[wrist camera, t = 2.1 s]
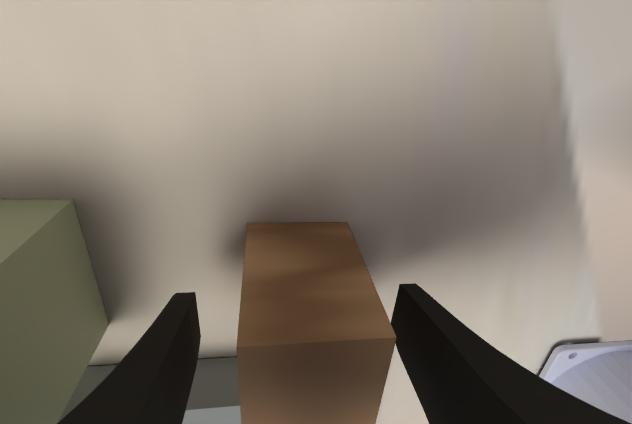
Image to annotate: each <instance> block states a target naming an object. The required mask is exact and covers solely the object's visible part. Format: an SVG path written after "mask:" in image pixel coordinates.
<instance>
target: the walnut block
mask: <svg viewBox="0 0 632 424" xmlns="http://www.w3.org/2000/svg"><path fill="white" fill-rule="evenodd" d="M396 338H397V337H396V335H395V333H394V330H393V328H392V326H391V323H390V321H389V319H388V316H387V314H386V312H385V309H384V307H383V305H382V302H381V300H380V298H379V295H378V293H377V291H376V289H375V286H374V284H373V282H372V279H371V277H370V275H369V272H368V270H367V268H366V265H365V263H364V261H363V258H362V256H361V254H360V251H359V249H358V247H357V244H356V242H355V240H354V238H353V235H352V233H351V231H350V228H349V226H348V224H347V222H294V223H247V231H246V243H245V255H244V267H243V279H242V290H241V302H240V314H239V326H238V338H237V361H238V379H239V396H240V414H241V424H375V423H376V419H377V415H378V411H379V407H380V403H381V398H382V394H383V390H384V386H385V382H386V378H387V374H388V370H389V366H390V362H391V358H392V354H393V350H394V346H395V342H396Z"/></svg>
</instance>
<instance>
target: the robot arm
mask: <svg viewBox="0 0 632 424" xmlns="http://www.w3.org/2000/svg"><path fill="white" fill-rule="evenodd" d="M391 326H392V328H393V330H394V333H395V335H396V337H397V338H396V342H395V343H396V346H397V349H398V352H399V355H400V357H401V359H402V362H403V364H404V366H405V369H406V371H407V373H408V375H409V378H410V380H411V382H412V384H413V387H414V389H415V391H416V394H417V396H418V398H419V400H420V403H421V405H422V407H423V409H424V412H425V414H426V417H427V419H428V422H429V424H632V340H628V341H614V342H600V343H586V344H571V345H561V346H558V347H556V348H555V349H554V350H553V352H552V354H551V355H550V357H549V359H548V361H547V362H546V364H545V366H544V368H543V370H542V371H541V373H540V375H539V376H537V375H535V374H534V373H532V372H530V371H529V370H527V369H526V368H524V367H522V366H521V365H519V364H518V363H516V362H515V361H513V360H512V359H510V358H509V357H507V356H506V355H504V354H503V353H501V352H500V351H498V350H497V349H495V348H494V347H493V346H491V345H490V344H489V343H487V342H486V341H485V340H483V339H482V338H481V337H479V336H478V335H477V334H475V333H474V332H473V331H471V330H470V329H469V328H468V327H466V326H465V325H464V324H463V323H462V322H460V321H459V320H458V319H457V318H455V317H454V316H453V315H452V314H451V313H450V312H448V311H447V310H446V309H445V308H444V307H443V306H441V305H440V304H439V303H438V302H437V301H436V300H434V299H433V298H432V297H431V296H430V295H429V294H428V293H426V292H425V291H424V290H423V289H422V288H420V287H419V286H418V285H417V284H400V286H399V290H398V294H397V298H396V303H395V307H394V311H393V316H392V320H391ZM200 337H201V335H200V327H199V319H198V311H197V303H196V295H195V292H191V293H176V294H175V295H173V297H172V298H171V299H170V301H169V302H168V304H167V305H166V306H165V308H164V309H163V310H162V312H161V313H160V315H159V316H158V317H157V318H156V320H155V321H154V322H153V324H152V325H151V326H150V328H149V329H148V330H147V331H146V332H145V334H144V335H143V336H142V337H141V339H140V340H139V341H138V342H137V344H136V345H135V346H134V347H133V348H132V349H131V350H130V352H129V353H128V354H127V355H126V356H125V357H124V358H123V359H122V361H121V362H120V363H119V364H118V365H117V366H116V367H115V368H114V369H113V371H112V372H111V373H110V374H109V375H108V376H107V377H106V378H105V379H104V380H103V381H102V382H101V383H100V384H99V385H98V386H97V387H96V388H95V389H94V390H93V391H92V392H91V393H90V394H89V395H88V396H87V397H86V398H85V399H84V400H83V401H81V402H80V403H79V404H78V405H77V406H76V407H75V408H74V409H73V410H72V411H70V412H69V413H68V414H67V415H66V416H65V417H64V418H63V419H62V420H60V421H59V422H58V423H57V424H182V423H183V419H184V415H185V411H186V407H187V403H188V399H189V395H190V391H191V387H192V383H193V379H194V375H195V371H196V367H197V360H198V353H199V345H200Z"/></svg>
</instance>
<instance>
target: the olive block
mask: <svg viewBox="0 0 632 424" xmlns="http://www.w3.org/2000/svg"><path fill="white" fill-rule="evenodd" d="M108 325H109V323H108V320H107V316H106V313H105V309H104V306H103V302H102V299H101V296H100V292H99V289H98V285H97V282H96V278H95V275H94V271H93V268H92V265H91V261H90V258H89V254H88V251H87V247H86V244H85V240H84V237H83V234H82V230H81V227H80V223H79V220H78V216H77V213H76V210H75V206H74V203H73V200H61V199H0V424H57V423H58V421H59V419H60V417H61V415H62V413H63V411H64V409H65V407H66V405H67V404H68V402H69V400H70V398H71V396H72V394H73V392H74V390H75V388H76V386H77V384H78V382H79V381H80V379H81V377H82V375H83V373H84V371H85V369H86V367H87V365H88V363H89V361H90V360H91V358H92V356H93V354H94V352H95V350H96V348H97V346H98V344H99V342H100V340H101V339H102V337H103V335H104V333H105V331H106V329H107V327H108Z"/></svg>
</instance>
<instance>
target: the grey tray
mask: <svg viewBox="0 0 632 424" xmlns="http://www.w3.org/2000/svg"><path fill="white" fill-rule="evenodd" d="M116 366H117V365H105V366H90V367H86V369H85V371H84V373H83V375H82V377H81V379H80V381H79V382H78V384H77V386H76V388H75V390H74V392H73V394H72V396H71V398H70V400H69V402H68V404H67V405H66V407H65V409H64V411H63V413H62V415H61V417H60V419H59V421H60V420H62V419H63V418H64V417H65V416H66V415H67V414H68V413H69V412H70V411H72V410H73V409H74V408H75V407H76V406H77V405H78V404H79V403H80V402H81V401H83V400H84V399H85V398H86V397H87V396H88V395H89V394H90V393H91V392H92V391H93V390H94V389H95V388H96V387H97V386H98V385H99V384H100V383H101V382H102V381H103V380H104V379H105V378H106V377H107V376H108V375H109V374H110V373H111V372H112V371H113V369H114V368H115V367H116ZM59 421H58V422H59ZM182 424H241V414H240V396H239V379H238V361H237V357H228V358H212V359H198V360H197V367H196V371H195V375H194V379H193V383H192V387H191V391H190V395H189V399H188V403H187V407H186V411H185V415H184V419H183V423H182Z"/></svg>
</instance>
